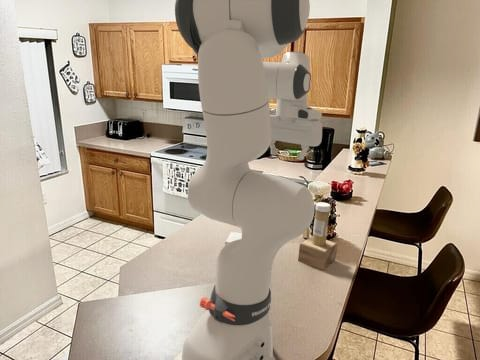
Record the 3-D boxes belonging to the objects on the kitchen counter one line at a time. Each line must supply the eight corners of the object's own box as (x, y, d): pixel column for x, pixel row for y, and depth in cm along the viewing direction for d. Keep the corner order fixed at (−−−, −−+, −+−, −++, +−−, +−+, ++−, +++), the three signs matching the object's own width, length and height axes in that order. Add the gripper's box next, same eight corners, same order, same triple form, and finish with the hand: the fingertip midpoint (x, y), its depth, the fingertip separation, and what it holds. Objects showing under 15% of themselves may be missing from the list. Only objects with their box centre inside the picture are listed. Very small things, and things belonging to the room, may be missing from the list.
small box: (229, 261, 115) (230, 231, 112) (246, 264, 114) (248, 233, 111) (223, 274, 107) (224, 241, 104) (241, 277, 106) (243, 244, 103)
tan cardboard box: (323, 270, 112) (325, 252, 111) (298, 260, 118) (299, 243, 116) (335, 260, 119) (337, 243, 118) (310, 251, 125) (312, 235, 123)
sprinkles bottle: (328, 244, 116) (333, 205, 113) (318, 247, 114) (323, 207, 110) (318, 239, 120) (323, 200, 116) (308, 241, 117) (312, 202, 114)
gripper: (256, 108, 110) (253, 152, 114) (316, 114, 98) (311, 163, 101) (268, 108, 115) (264, 150, 118) (327, 113, 103) (321, 161, 106)
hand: (286, 156), depth 110 cm, fingers open, 8 cm apart
